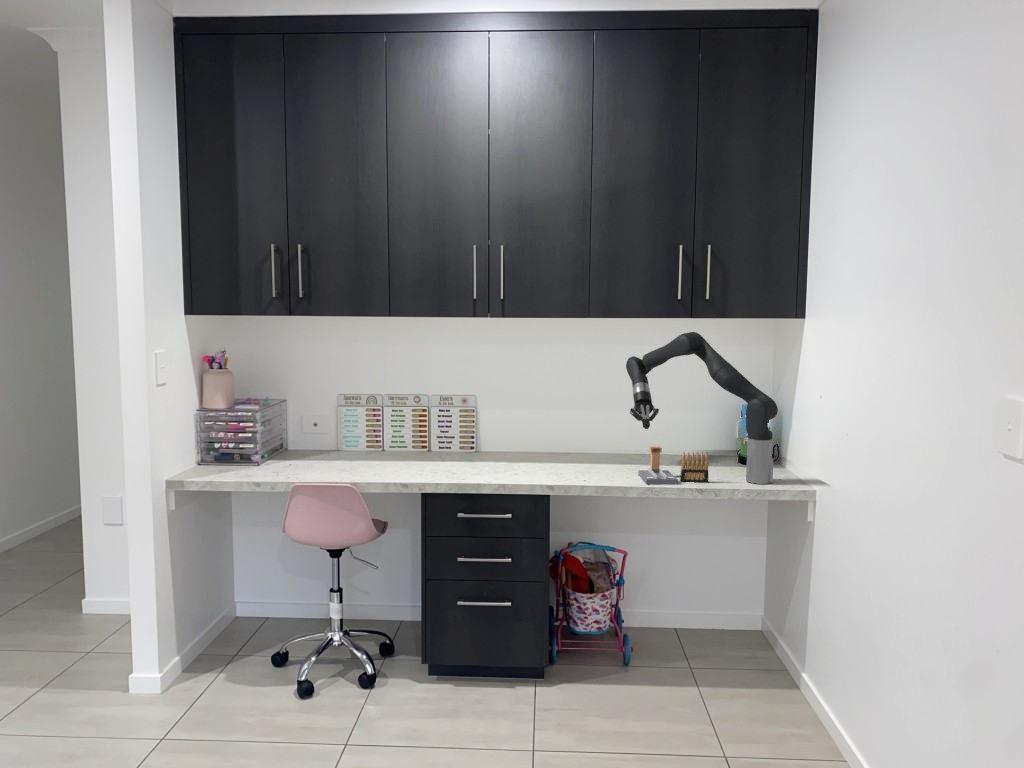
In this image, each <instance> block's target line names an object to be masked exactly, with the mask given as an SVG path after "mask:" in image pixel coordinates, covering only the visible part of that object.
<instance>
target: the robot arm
mask: <svg viewBox="0 0 1024 768" xmlns="http://www.w3.org/2000/svg"><path fill="white" fill-rule="evenodd" d="M690 355H695V356H697V357H698V358H699V359H700V360H701V361H702V362H703V363H704V364H705V366H706V368H707V370H708V373H709V376H710V377H711V379H712V380H713V381H714V382H715V383H716V384H717V385H718V386H720V388H722V389H723V390H725V391H726V392H728V393H730V394H732V395H734V396H735V397H736V396H737V397H738V398H739V399H742V400H743V401H745V402H746V407H745V430H746V433H747V442H746V443H747V446H746V447H747V449H746V468H745V469H746V470H745V471H746V472H745V481H746V482H747V481H748V482H747V483H749V482H751V483H750V484H754V483H756V484H755V485H767V484H773V477H774V475H773V474H774V458H772V457H773V455H772V454H773V435H774V434H773V432H772V430H770V428H769V424H768V423H769V422H768V421H769V420H770V421H771V420H772V419H773V420H774V418H775V417H776V416H777V415H778V411H779V409H778V405H777V403H776V402H775V400H774V399H773V398H771V397H770V396H769V395H767V394H766V393H764V392H763V391H762V390H761V389H759V388H758V387H756V386H755V385H754V384H753V383H751V381H749V379H748V378H746V377H745V376H744V375H743V374H742V373H741V372H739V370H738V369H736V367H734V366H733V365H732V364H731V363H730V362H729V361H727V360H726V359H725V358H724V357H723V356H722V355H721V354H720V353H718V352H717V351H716V350H715V349H714V348H713V347H712V346H711V345H710V343H709V342H708V341H707V340H706V339H705V338H704V337H703V336H702V335H701V334H700V333H698V332H697V331H690V332H684V333H681V334H679V335H678V336H676V337H675V338H674V339H671V341H670V342H668V343H667V344H665V345H663V346H661V347H658V348H656V349H654V350H651V351H649V352H647V353H645V354H644V355H643V356H642V358H639V357H637V356H630V357H628V359H627V360H626V362H625V363H626V364H625V369H626V371H627V372H626V373H627V374H628V376H629V378H630V380H631V385H632V396H633V397H632V398H633V403H634V405H633V407H631V408H630V410H629V414H630V415H631V416H632V417H633V418H634V419H636V420H637V421H638V422H641V423H642V428H643V429H645V430H648V429H649V428H650V426H651V423H650V422H653V420H654V419H655V418H656V416H657V415H658V414H659V411H660V409H659V408H658V407H657V408H656V407H655V406H654V404H653V401H652V394H651V389H650V388H651V387H650V385H649V380H648V376H647V374H648V373H650V372H651V371H652V370H654V368H656V367H659V366H661V365H663V364H665V363H667V361H669V360H670V359H673V358H678V357H683V356H690ZM651 413H652V414H651Z"/></svg>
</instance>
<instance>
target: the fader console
mask: <svg viewBox="0 0 1024 768" xmlns="http://www.w3.org/2000/svg"><path fill="white" fill-rule="evenodd" d="M639 476H640V477H641V478H642V479H641V478H640V477H639ZM638 477H639V478H640V479H641V480H642V481H643V482H644V483H645V485H678V480H679V479H678V478H677V477H675V475H674V474H672V472H670V471H669V470H668V469H667V470H666V469H664V470H662V469H660V468H659V472H653V471H652V470H651V468H650V467H648V468H647V470H645V469H643V470H642V469H639V470H638Z"/></svg>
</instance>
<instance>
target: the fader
mask: <svg viewBox="0 0 1024 768" xmlns="http://www.w3.org/2000/svg"><path fill="white" fill-rule="evenodd" d="M648 447H649V448H648V452H649V453H650V464H649V465H650V467H649V468H650V469H651V470H652V471H653V472H659V469H660V466H661V465H660V462H661V461H660V459H661V456H660V455H661V453H662V447H661V446H648ZM662 454H663V453H662Z"/></svg>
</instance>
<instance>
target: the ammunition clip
mask: <svg viewBox="0 0 1024 768" xmlns="http://www.w3.org/2000/svg"><path fill="white" fill-rule="evenodd" d="M699 454H700V455H699ZM680 464H681V465H680V479H679V482H680V483H686V482H694V484H695V483H696V484H709V454H708V452H705V456H704V453H703V451H701V453H699V452H698V451H697V452H696V455H695V453H694V451H692V452H691V455H690V452H689V451H687V453H686V454H685V451H683V452H682V454H681V461H680Z"/></svg>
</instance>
